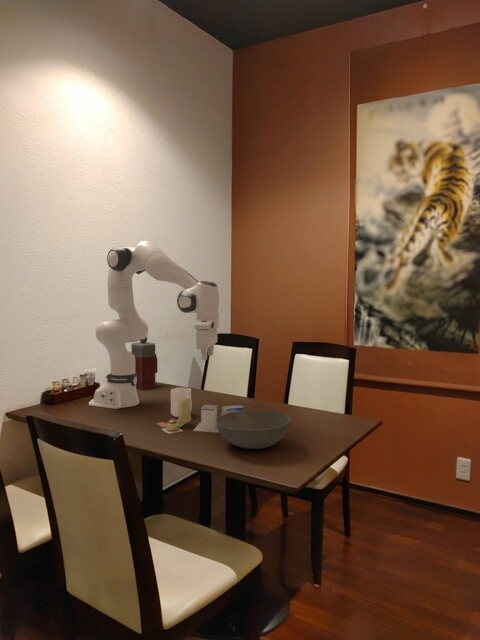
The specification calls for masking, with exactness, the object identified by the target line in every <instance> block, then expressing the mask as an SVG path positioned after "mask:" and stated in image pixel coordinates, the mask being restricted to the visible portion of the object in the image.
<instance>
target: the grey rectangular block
mask: <svg viewBox="0 0 480 640" xmlns="http://www.w3.org/2000/svg"><path fill="white" fill-rule="evenodd" d="M200 413H201V415H200V416H201V417H200V420H201V422H200V423H201V429H214V428H215V427H216V426H217V425H216V419H217V418H218V405H213V404H212V405H211V404H203V405H202V406H201V408H200Z"/></svg>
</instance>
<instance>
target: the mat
mask: <svg viewBox="0 0 480 640" xmlns="http://www.w3.org/2000/svg"><path fill="white" fill-rule="evenodd" d="M192 431H193V432H198V433H199V432H200V433H201V432H202V433H216V434H220V432H219V430H218V428H217V426H216V427H215V428H214V429H201V422H199V423H198V424H197V425H196V427H194V429H193V430H192Z"/></svg>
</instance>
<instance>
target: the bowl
mask: <svg viewBox="0 0 480 640" xmlns="http://www.w3.org/2000/svg"><path fill="white" fill-rule="evenodd" d="M291 424H292V418H291V416H289V415H287V414H285V413H282V412H279V411H278V412H277V411H271V410H261V409H260V410H253V409H252V410H245V411H240V412H231V413H228V414H225V415H222V414H221V415H220V416H217V419H216V425H217V428H218V430H219V434H220V435H221V436H222V438H223V439H224V440H226V441H227V442H228V443H230V444H232V445H233V446H236V447H239V448H242V449H249V450H259V449H266V448H270V447H272V446H274V445H276V444H277V443H278V442H279V441H281V440H282V439H283V438H284V437H285V436H286V434H287V433H288V431H289V429H290V427H291Z"/></svg>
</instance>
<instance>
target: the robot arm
mask: <svg viewBox="0 0 480 640" xmlns="http://www.w3.org/2000/svg"><path fill="white" fill-rule="evenodd" d="M106 261H107V265H108V267H109V268H108V271H107V299H108V300H107V302H108V306H109V308H111V310H113V311H114V312H116V313H117V315H118V317H119V318H118V319H116V318H115V319H108V320H105V321H102V322H99V323H98V324H97V326H96V328H95V337H96V339H97V341H98V342H99V343H100V344H102V345H103V346H104V347H105V349H106V351H107V353H108V355H109V361H110V362H109V364H110V372H109V373H108V374H107V375H105V379H106V382H104V383H103V384H102V385H100V386H98V388H97V389H95V391H94V395H93V399H90V401H88V406H91V407H98V408H106V409H113V410H116V409H121V408H129V407H134V406H137V405H139V404H140V400H139V396H138V389H136V384H137V376H136V372H135V356H134V355H133V354H132V353H131V351H129V350H128V349H127V346H126V344H128V343H137V342H138V341H139V342H140V340H142V339H144V338H146V336H147V337H148V334H149V325H148V323H147V322H146V320H144V319H143V318H142V317H141V316H140V314H139V313H138V310H137V309H136V306H135V301H134V290H133V289H134V288H133V276H134V274H137V275H140V274H142V273H144V272H146V273H147V275H149V276H150V277H151V278H153V279H155V280H157V281H160V282H167V283H172V284H176V285H178V286H181V287H182V288H183V290H181V291H180V292H179V294H177V297H176V303H177V307H178V309H179V310H180V311H181V313H184V314H196V321H195V323H194V324H193V325H194V326H193V327H194V328H193V329H195V344H196V348H197V350H200V353H201V360H204V361H205V360H208V356H209V357H212V356H213V355H214V348H215V344H216V343H218V328H219V327H220V313H219V307H220V292H219V286H218V285H217V283H216V282H213V281H209V280H208V281H206V280H201V281H199V280H197V279H196V278H195V277H194V276H193V275H192V274H191V273H189V272H188V271H187V270H185V269H184V268H183V267H182V266H180V265H179V264H178V263H176V262H175V261H173V259H171V258H170V257H169V256H168V255H167V254H166V253H165V252H164V251H163V250H162V249H161V248H160V247H159V246H158V245H156V244H155V243H153V242H151V241H149V240H142V241H140V242H139V243H138V244H136V246H115V247H113V248H110V250H109V251H108V253H107V256H106Z"/></svg>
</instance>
